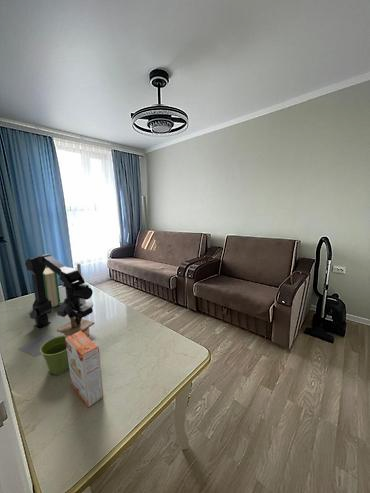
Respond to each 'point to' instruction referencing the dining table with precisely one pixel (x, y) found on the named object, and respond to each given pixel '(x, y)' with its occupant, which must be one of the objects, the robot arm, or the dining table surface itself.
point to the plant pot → (56, 354)
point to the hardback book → (51, 286)
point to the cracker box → (84, 367)
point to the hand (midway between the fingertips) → (76, 324)
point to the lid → (75, 326)
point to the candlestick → (84, 303)
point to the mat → (35, 345)
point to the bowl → (83, 332)
